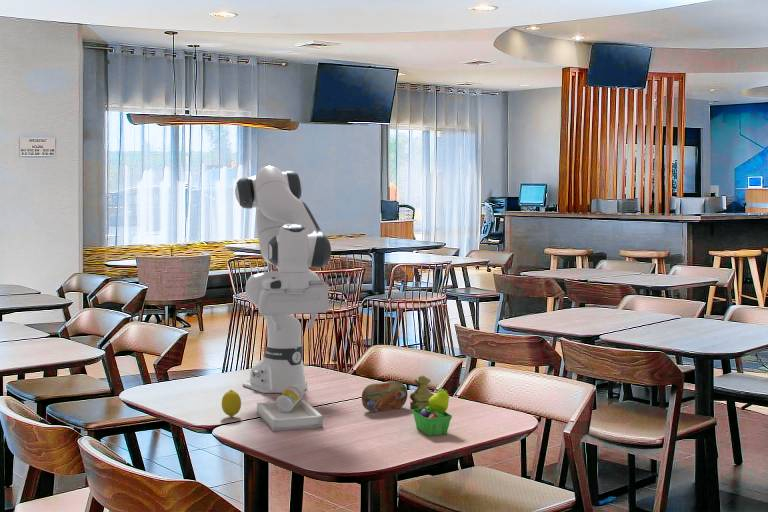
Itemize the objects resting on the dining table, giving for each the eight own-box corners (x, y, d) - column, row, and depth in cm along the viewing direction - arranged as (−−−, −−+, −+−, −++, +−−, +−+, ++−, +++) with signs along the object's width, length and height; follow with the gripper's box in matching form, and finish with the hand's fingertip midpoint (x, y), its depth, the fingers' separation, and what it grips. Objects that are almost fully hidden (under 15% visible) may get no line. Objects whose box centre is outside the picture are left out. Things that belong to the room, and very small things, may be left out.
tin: (365, 414, 268) (365, 385, 268) (359, 412, 271) (359, 384, 270) (408, 407, 276) (408, 380, 276) (402, 405, 279) (402, 378, 278)
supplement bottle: (275, 411, 266) (290, 395, 275) (292, 414, 265) (306, 399, 273) (275, 394, 264) (290, 379, 273) (292, 398, 263) (306, 383, 271)
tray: (257, 412, 270) (257, 402, 269) (303, 409, 274) (303, 399, 274) (273, 431, 249) (273, 420, 249) (323, 426, 253) (323, 416, 253)
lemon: (233, 413, 269) (233, 386, 268) (245, 417, 265) (244, 389, 264) (217, 417, 265) (217, 389, 264) (229, 420, 261) (228, 392, 260)
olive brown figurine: (405, 407, 276) (405, 375, 275) (428, 405, 279) (428, 373, 278) (416, 413, 269) (416, 379, 269) (438, 410, 272) (439, 377, 271)
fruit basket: (410, 427, 253) (410, 387, 252) (439, 424, 256) (439, 384, 256) (426, 437, 243) (427, 395, 242) (457, 434, 246) (457, 393, 245)
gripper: (326, 279, 269) (326, 325, 270) (256, 281, 262) (257, 329, 263) (331, 281, 263) (331, 329, 264) (261, 283, 256) (261, 332, 257)
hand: (293, 329), depth 263 cm, fingers open, 8 cm apart
